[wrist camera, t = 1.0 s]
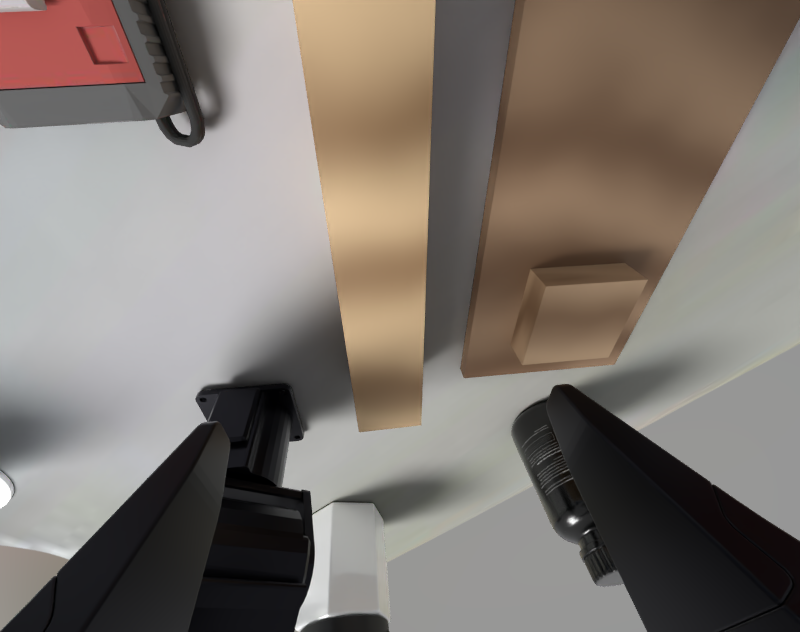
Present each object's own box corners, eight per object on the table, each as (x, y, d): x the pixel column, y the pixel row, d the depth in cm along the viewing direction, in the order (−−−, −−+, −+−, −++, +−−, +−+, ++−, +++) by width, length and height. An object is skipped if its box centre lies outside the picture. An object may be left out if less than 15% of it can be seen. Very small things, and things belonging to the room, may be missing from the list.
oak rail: (410, 369, 26) (421, 425, 22) (357, 374, 25) (359, 432, 21) (410, -49, 12) (438, -103, 8) (300, -50, 12) (276, -106, 8)
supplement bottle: (517, 449, 34) (582, 599, 24) (501, 413, 30) (572, 576, 20) (584, 426, 33) (680, 574, 23) (577, 386, 29) (690, 544, 19)
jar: (346, 539, 42) (344, 678, 33) (292, 524, 38) (272, 678, 28) (398, 511, 39) (413, 655, 30) (346, 491, 35) (344, 651, 25)
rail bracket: (606, 355, 27) (667, 424, 22) (460, 368, 26) (487, 444, 21) (1023, -473, 9) (1968, -1229, 4) (596, -548, 8) (1094, -1784, 3)
